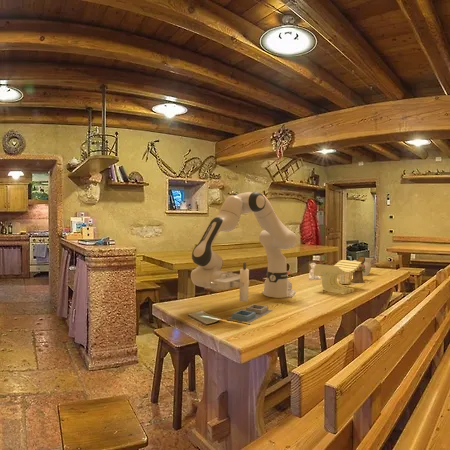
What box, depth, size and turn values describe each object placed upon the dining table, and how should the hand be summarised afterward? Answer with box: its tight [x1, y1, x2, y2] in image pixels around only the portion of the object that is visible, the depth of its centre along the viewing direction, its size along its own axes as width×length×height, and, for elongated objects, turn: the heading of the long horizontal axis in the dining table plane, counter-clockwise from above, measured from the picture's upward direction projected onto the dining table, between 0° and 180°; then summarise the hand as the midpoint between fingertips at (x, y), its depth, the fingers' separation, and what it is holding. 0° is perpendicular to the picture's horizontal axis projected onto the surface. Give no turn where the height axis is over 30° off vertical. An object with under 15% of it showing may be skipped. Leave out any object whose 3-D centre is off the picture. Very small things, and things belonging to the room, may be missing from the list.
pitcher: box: [352, 257, 375, 277], centre depth 295 cm, size 11×18×14 cm, turn 46°
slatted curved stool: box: [314, 259, 361, 295], centre depth 234 cm, size 30×16×18 cm, turn 134°
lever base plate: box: [225, 303, 274, 326], centre depth 175 cm, size 24×12×3 cm, turn 148°
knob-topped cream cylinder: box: [239, 262, 250, 302], centre depth 169 cm, size 4×4×17 cm
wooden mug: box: [351, 255, 366, 284], centre depth 266 cm, size 9×14×18 cm, turn 139°
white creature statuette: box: [308, 262, 322, 281], centre depth 274 cm, size 10×9×12 cm
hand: (245, 283), depth 168 cm, fingers closed on knob-topped cream cylinder, 4 cm apart
